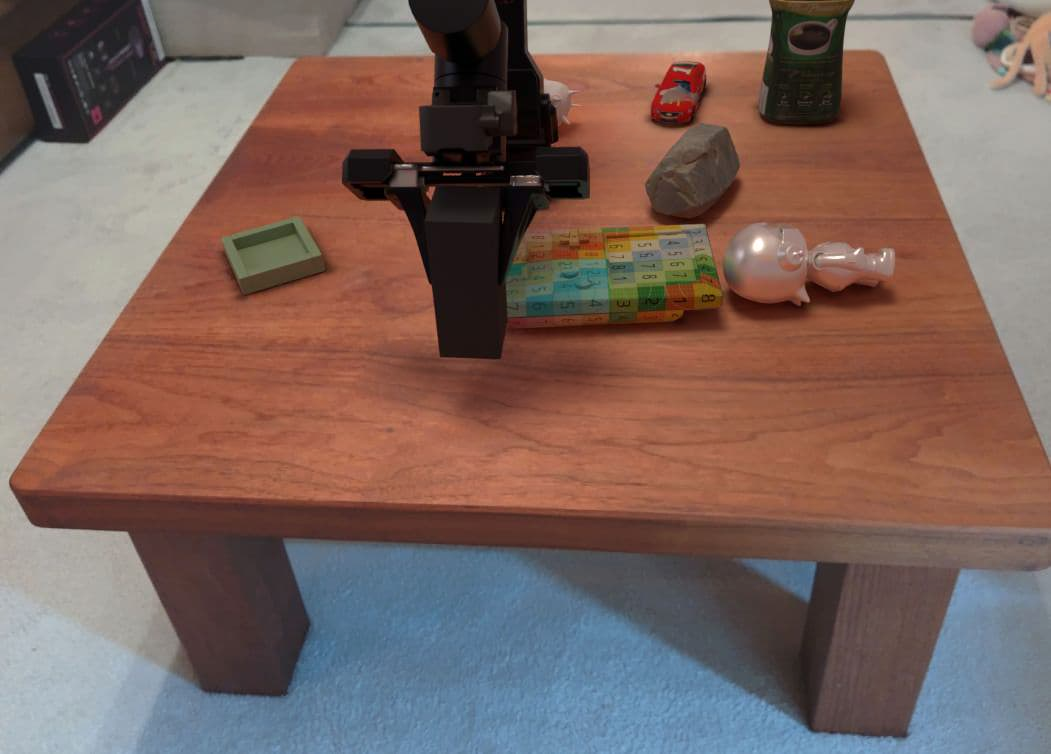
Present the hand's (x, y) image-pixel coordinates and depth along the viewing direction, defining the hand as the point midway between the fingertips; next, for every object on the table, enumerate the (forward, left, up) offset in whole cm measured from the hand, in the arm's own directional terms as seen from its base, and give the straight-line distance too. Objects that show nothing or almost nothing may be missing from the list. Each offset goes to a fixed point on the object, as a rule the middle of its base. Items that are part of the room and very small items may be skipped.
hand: (466, 284), depth 78 cm
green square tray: (+14, -29, -12) cm, 34 cm away
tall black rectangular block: (0, -1, -7) cm, 7 cm away
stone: (-31, -23, -13) cm, 40 cm away
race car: (-39, -44, -13) cm, 60 cm away
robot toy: (-20, -47, -13) cm, 53 cm away
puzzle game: (-16, -10, -13) cm, 22 cm away
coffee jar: (-51, -36, -13) cm, 63 cm away
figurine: (-33, -3, -13) cm, 35 cm away
